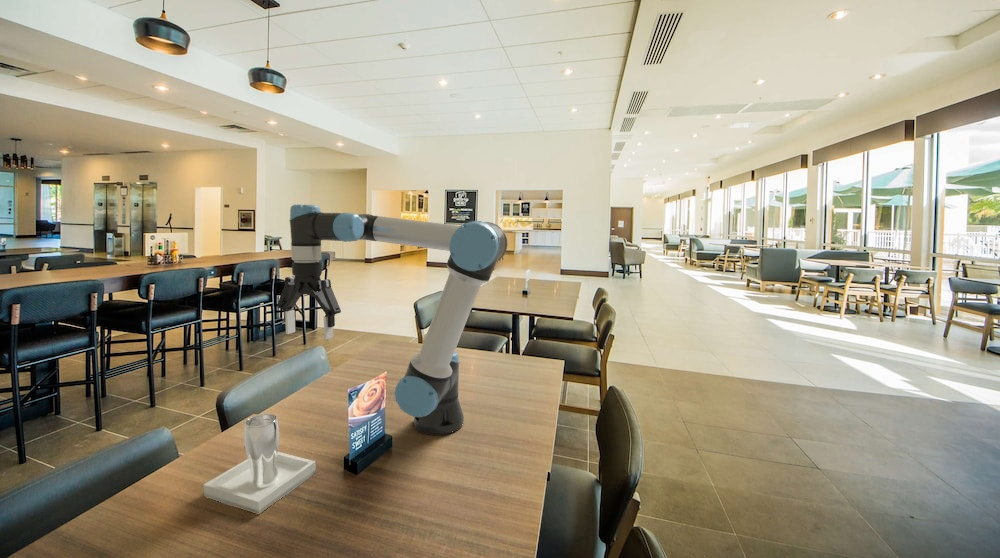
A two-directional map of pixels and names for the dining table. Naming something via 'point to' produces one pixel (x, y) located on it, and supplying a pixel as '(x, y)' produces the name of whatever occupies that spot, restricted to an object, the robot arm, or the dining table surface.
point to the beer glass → (262, 449)
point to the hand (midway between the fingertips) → (309, 335)
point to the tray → (238, 492)
